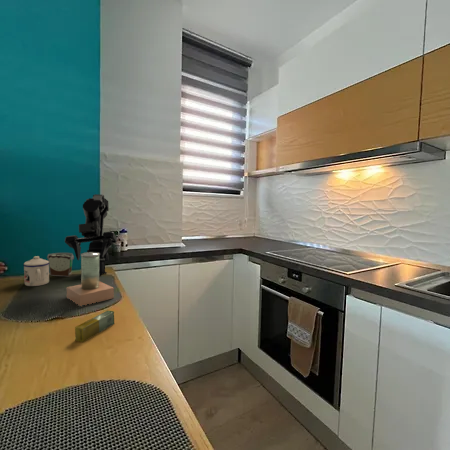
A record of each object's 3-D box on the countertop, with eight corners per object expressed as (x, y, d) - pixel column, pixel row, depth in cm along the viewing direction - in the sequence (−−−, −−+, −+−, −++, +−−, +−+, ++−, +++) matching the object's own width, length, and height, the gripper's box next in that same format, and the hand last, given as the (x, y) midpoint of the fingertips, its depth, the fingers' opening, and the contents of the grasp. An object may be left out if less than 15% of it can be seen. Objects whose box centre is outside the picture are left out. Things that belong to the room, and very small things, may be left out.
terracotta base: (98, 290, 111) (98, 280, 111) (113, 298, 103) (113, 287, 103) (66, 297, 102) (66, 287, 101) (80, 306, 94) (80, 295, 94)
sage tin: (89, 284, 106) (89, 251, 105) (103, 285, 104) (103, 252, 104) (76, 288, 100) (77, 254, 99) (91, 290, 98) (91, 255, 98)
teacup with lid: (23, 282, 118) (22, 255, 117) (48, 279, 123) (47, 253, 122) (25, 289, 108) (24, 260, 107) (52, 286, 114) (51, 258, 113)
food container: (80, 273, 134) (79, 253, 134) (71, 276, 128) (71, 255, 127) (56, 271, 136) (56, 251, 135) (47, 275, 129) (46, 254, 129)
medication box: (107, 322, 83) (107, 309, 83) (115, 324, 83) (114, 311, 82) (74, 341, 72) (74, 326, 72) (82, 343, 71) (82, 328, 71)
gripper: (60, 217, 108) (55, 253, 101) (109, 212, 111) (108, 247, 104) (72, 230, 118) (68, 264, 111) (117, 225, 121) (116, 258, 113)
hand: (90, 258), depth 109 cm, fingers open, 9 cm apart
